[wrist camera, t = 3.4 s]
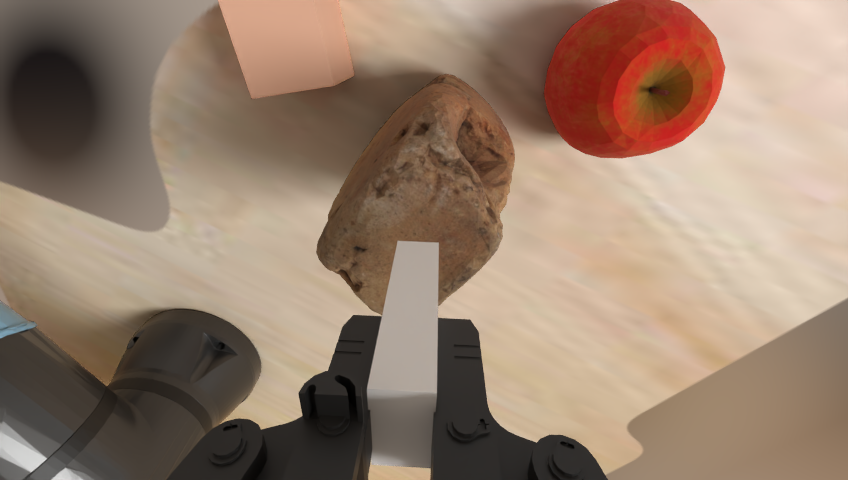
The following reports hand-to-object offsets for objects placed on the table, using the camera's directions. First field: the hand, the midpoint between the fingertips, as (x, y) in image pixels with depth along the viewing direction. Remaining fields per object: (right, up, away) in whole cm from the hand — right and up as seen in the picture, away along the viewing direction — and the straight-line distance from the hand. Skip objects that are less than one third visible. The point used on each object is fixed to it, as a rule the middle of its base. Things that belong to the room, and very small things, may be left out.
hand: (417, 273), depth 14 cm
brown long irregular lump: (+1, +11, +20) cm, 23 cm away
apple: (+15, +15, +17) cm, 27 cm away
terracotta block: (-9, +17, +17) cm, 26 cm away
